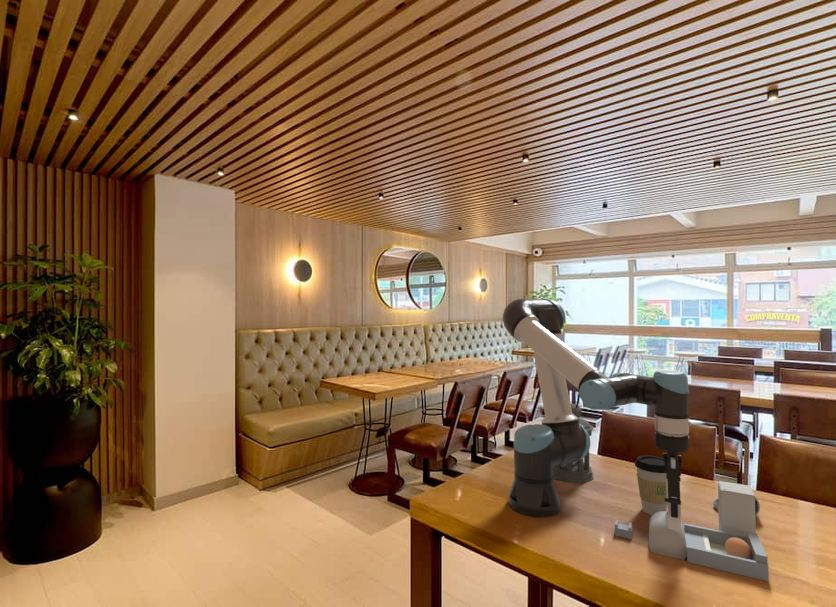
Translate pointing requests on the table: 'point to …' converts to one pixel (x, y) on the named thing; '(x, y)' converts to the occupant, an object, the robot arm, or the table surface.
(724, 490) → the supplement box
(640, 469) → the coffee cup
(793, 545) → the table surface
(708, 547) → the grey molded pieces
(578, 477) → the lantern
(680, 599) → the table surface
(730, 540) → the ball
